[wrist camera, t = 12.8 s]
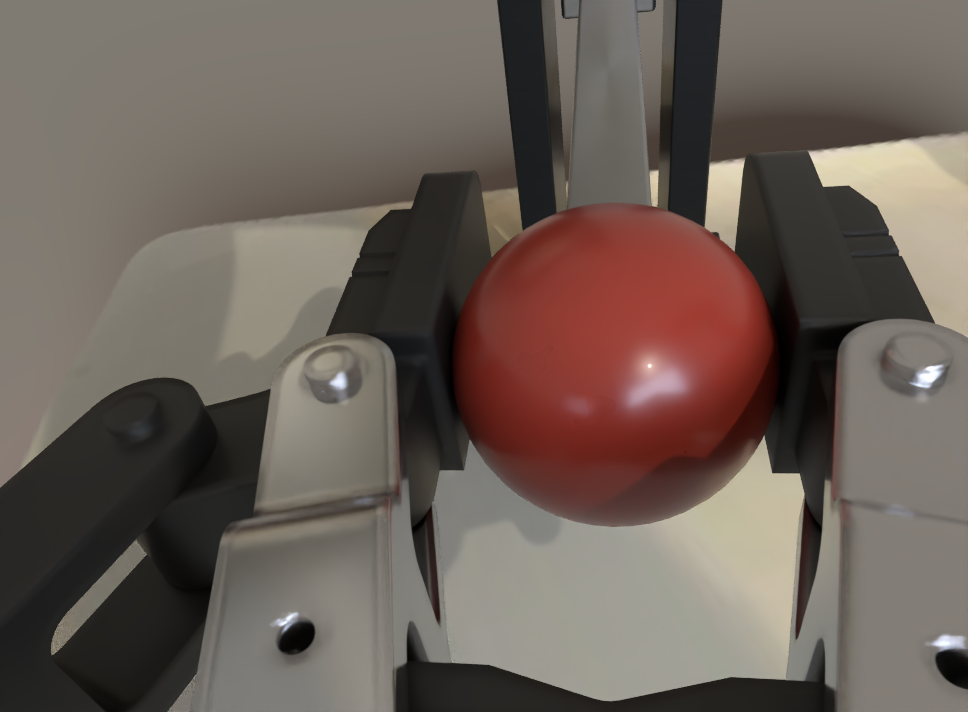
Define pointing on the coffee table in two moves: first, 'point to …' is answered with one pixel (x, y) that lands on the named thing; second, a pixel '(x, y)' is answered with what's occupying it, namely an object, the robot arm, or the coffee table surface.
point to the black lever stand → (681, 114)
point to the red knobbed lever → (614, 325)
